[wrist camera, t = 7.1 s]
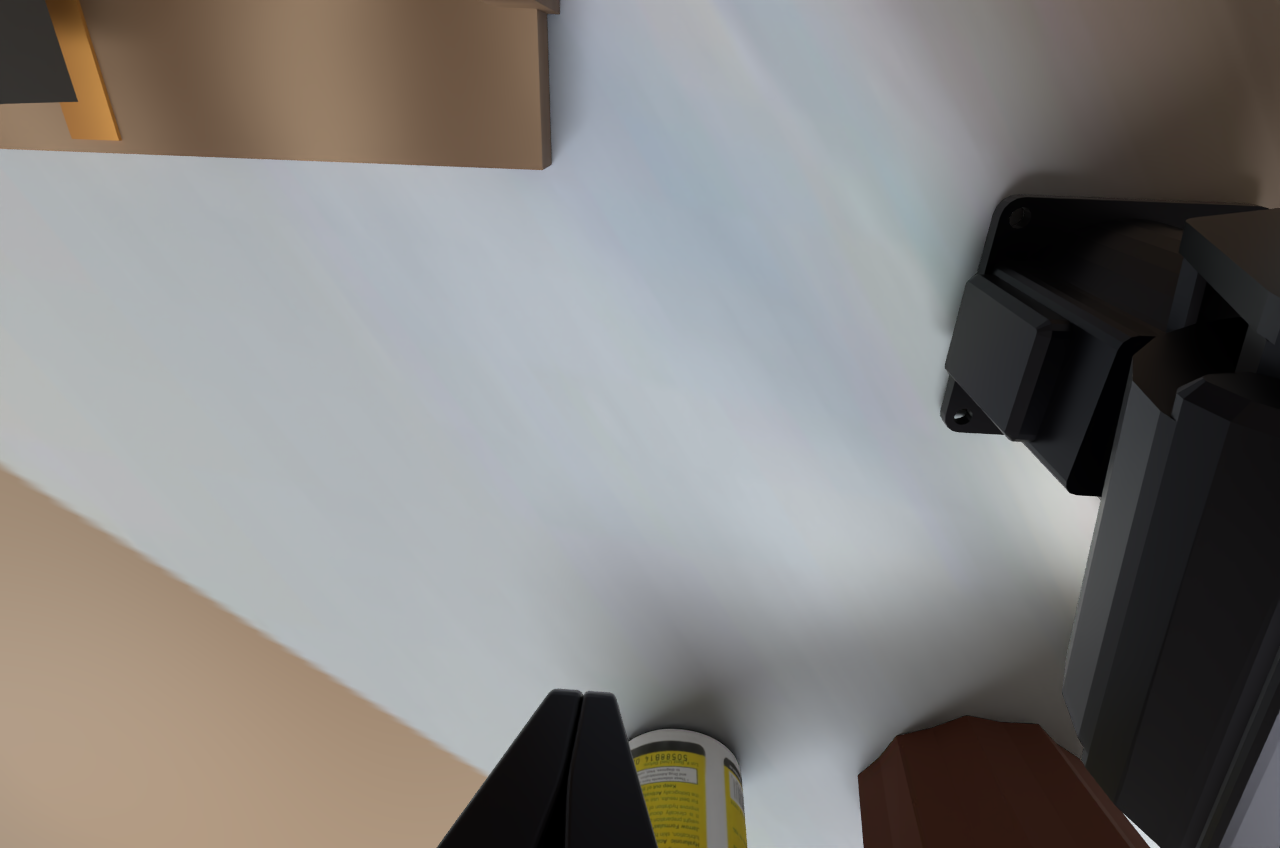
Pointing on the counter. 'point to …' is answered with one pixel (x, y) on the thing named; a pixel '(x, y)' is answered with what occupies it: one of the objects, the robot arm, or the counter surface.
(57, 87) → the grey square collar
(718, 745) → the supplement bottle
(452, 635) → the counter surface
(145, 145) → the pipe stand
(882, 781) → the muffin
